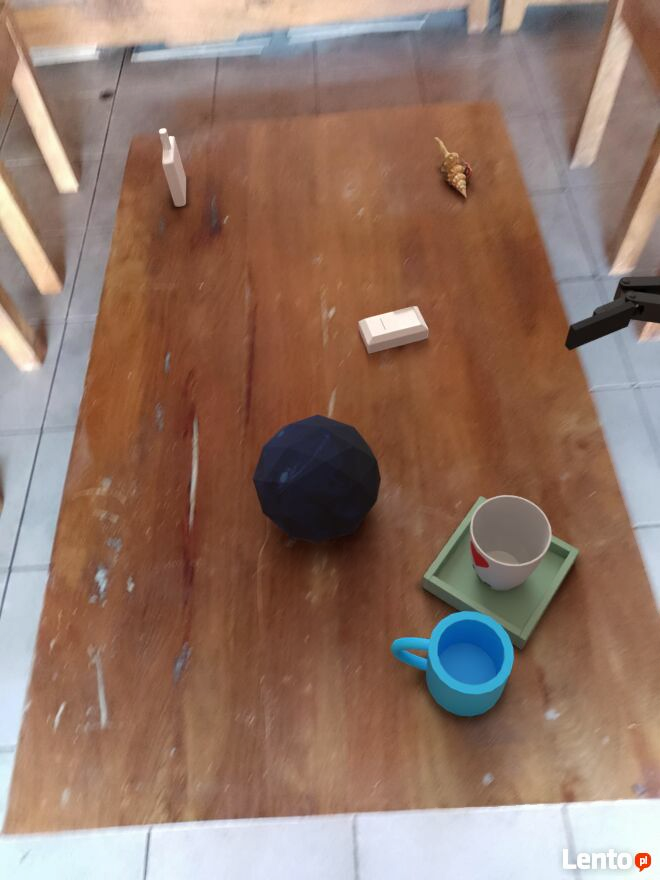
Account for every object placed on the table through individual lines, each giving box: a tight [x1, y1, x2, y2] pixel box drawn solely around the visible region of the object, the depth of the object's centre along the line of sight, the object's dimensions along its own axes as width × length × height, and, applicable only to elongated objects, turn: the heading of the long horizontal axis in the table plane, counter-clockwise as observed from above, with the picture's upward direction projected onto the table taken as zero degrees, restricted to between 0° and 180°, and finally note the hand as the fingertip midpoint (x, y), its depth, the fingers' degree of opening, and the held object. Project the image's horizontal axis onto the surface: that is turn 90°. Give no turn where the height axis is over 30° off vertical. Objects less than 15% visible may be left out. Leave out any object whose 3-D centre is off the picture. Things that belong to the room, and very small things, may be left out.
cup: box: [469, 494, 553, 591], centre depth 77 cm, size 8×8×10 cm
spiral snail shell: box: [434, 136, 473, 198], centre depth 123 cm, size 14×5×4 cm, turn 34°
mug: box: [390, 611, 515, 717], centre depth 73 cm, size 12×8×8 cm
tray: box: [422, 495, 581, 651], centre depth 81 cm, size 13×13×3 cm
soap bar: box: [357, 305, 430, 355], centre depth 103 cm, size 5×9×3 cm, turn 105°
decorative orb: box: [252, 414, 382, 544], centre depth 83 cm, size 14×15×15 cm
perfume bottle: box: [158, 127, 187, 208], centre depth 123 cm, size 8×2×12 cm, turn 6°
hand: (615, 389), depth 62 cm, fingers open, 13 cm apart
